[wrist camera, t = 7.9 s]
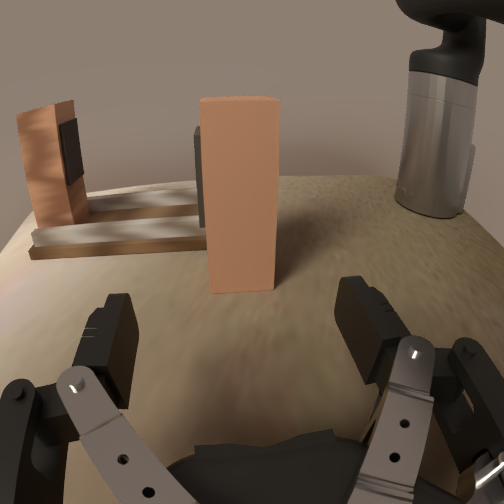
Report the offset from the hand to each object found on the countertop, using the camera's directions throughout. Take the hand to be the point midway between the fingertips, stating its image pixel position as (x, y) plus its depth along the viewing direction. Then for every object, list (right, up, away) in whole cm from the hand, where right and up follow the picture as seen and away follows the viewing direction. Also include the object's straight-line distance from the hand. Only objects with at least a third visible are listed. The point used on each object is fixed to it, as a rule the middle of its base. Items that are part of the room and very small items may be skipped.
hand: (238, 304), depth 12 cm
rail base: (-12, +4, +20) cm, 24 cm away
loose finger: (0, 0, +13) cm, 13 cm away
